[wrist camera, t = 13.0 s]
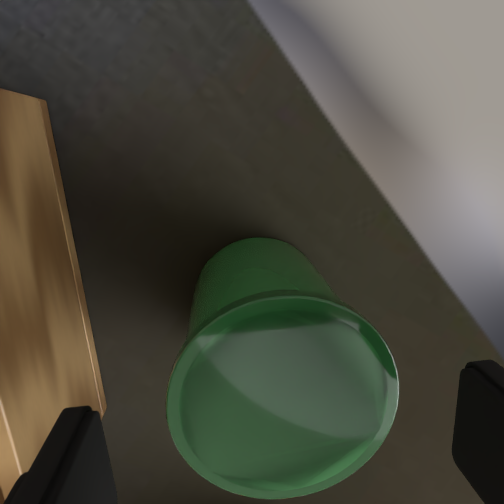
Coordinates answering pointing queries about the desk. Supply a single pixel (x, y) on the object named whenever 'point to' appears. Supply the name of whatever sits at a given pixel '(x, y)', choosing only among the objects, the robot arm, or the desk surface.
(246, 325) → the pot
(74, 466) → the robot arm
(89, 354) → the box
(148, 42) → the desk surface
